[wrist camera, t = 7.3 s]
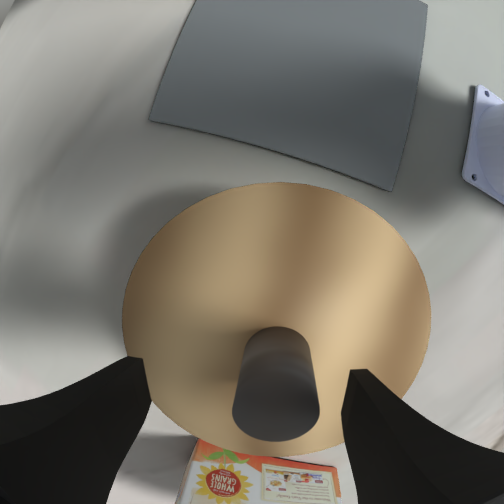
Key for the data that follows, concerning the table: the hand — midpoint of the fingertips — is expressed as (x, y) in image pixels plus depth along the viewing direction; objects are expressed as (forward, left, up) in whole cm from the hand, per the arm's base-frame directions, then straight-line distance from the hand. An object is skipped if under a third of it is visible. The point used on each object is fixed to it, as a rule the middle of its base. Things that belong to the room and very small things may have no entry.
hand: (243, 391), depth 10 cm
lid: (-1, 0, -4) cm, 5 cm away
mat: (+2, -17, -10) cm, 20 cm away
